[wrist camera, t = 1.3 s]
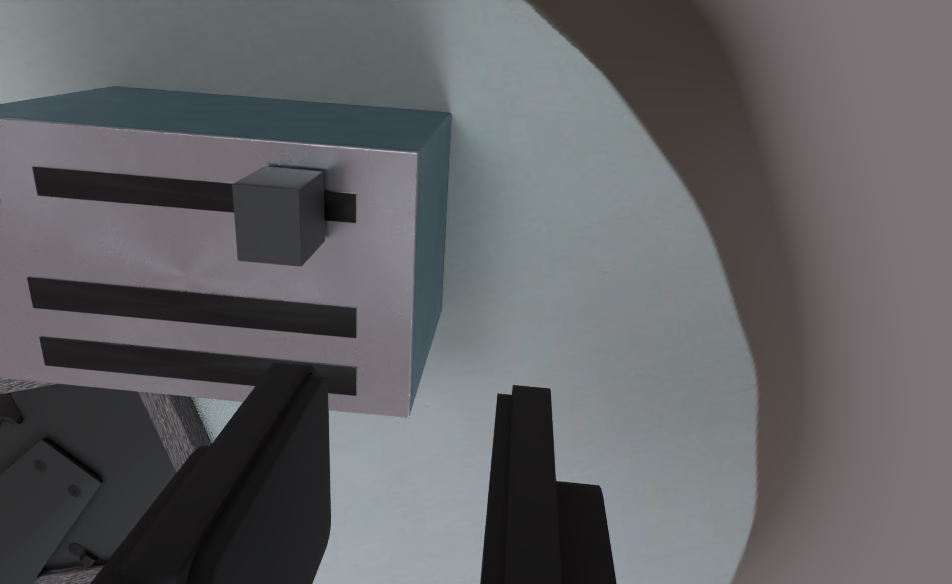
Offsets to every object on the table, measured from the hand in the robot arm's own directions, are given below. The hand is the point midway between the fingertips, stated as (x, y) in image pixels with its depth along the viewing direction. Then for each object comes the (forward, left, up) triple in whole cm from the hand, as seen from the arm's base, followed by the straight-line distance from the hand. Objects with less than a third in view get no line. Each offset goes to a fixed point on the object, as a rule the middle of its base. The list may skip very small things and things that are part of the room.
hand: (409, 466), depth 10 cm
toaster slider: (0, -6, -13) cm, 14 cm away
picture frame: (+21, -25, -23) cm, 40 cm away
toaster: (+3, -10, -23) cm, 25 cm away
